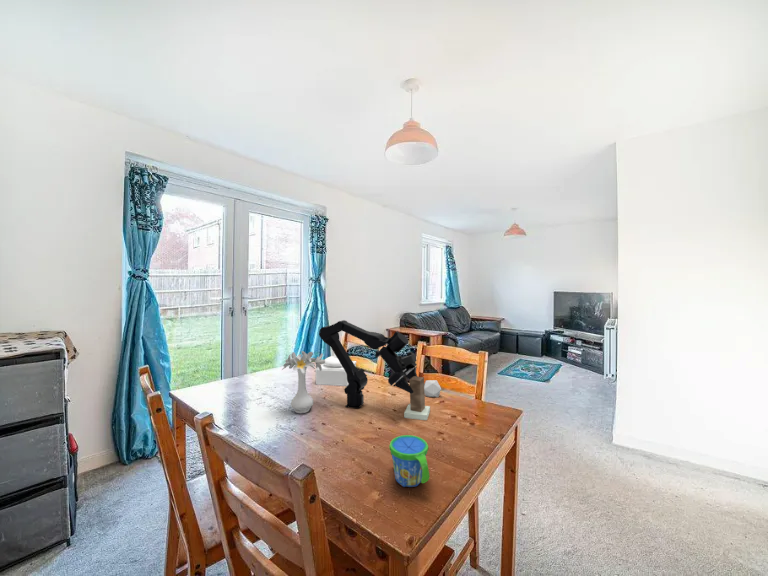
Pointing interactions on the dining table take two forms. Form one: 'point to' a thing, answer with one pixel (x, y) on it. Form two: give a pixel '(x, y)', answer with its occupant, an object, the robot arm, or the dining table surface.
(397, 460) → the snack cup
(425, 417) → the top slab
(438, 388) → the die
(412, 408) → the pillar
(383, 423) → the dining table surface
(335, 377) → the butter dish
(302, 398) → the flower vase
